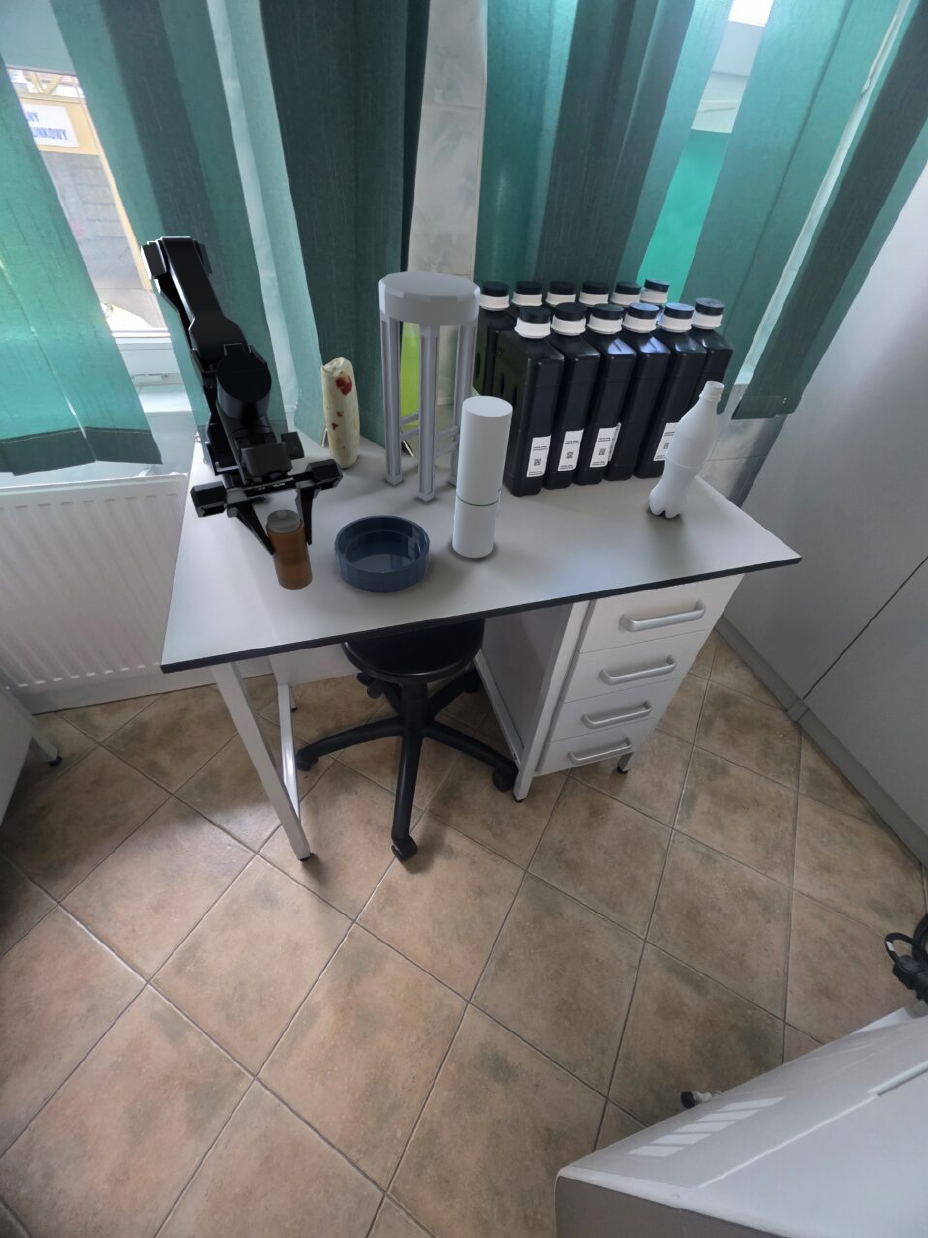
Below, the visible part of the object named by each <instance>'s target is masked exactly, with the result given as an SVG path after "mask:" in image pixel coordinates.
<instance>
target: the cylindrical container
mask: <svg viewBox="0 0 928 1238" xmlns="http://www.w3.org/2000/svg"><path fill="white" fill-rule="evenodd" d="M512 416H513V406H512V404H511V403H510V402H508V401H506V400H504V399H502V398H499V397H495V396H489V395H479V396H478V395H476V396H472V397H471V398H468V399H466V400H465V401H464V402H463V406H462V420H461V433H460V447H459V460H458V474H457V486H456V487H455V488H456V489H455V503H454V519H453V530H452V531H453V532H452V548H453V550H454V551H455V552H456V553H457V554H459V555H461V556H463V557H465V558H470V559H479V558H484V557H486V556H488V555H490V554H491V553H492V551H493V548H494V541H495V534H496V527H497V520H498V513H499V507H500V499H501V491H502V486H503V485H502V484H503V479H504V471H505V464H506V457H507V449H508V443H509V437H510V429H511V422H512Z"/></svg>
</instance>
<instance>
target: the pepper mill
mask: <svg viewBox="0 0 928 1238" xmlns="http://www.w3.org/2000/svg"><path fill="white" fill-rule="evenodd" d="M264 528H265V529H264V530H265V533H266V535H267V537H268V539H269V541H270V543H271V546H272V549H273V552H274V555H272V557H271V558H272V561H273V566H274V570H275V574H276V577H277V582H278V584H279V586H280V587H282V588H283V589H285V590H289V591H299V590H302V589H305V588H307V587H308V586H309V585H311V583H312V582H313V580H314V575H313V569H312V563H311V558H310V551H309V547H308V546H309V545H308V543H307V540H306V535H305V529H304V523H303V521H302V519H301V518H300V517H299V514H298V512H296V511H295V510H292V509H286V508H285V509H278V510H275V511H272V512H270V513H269V514H268V515H267V517H266V522H265V524H264Z"/></svg>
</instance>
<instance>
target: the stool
mask: <svg viewBox="0 0 928 1238" xmlns="http://www.w3.org/2000/svg"><path fill="white" fill-rule="evenodd" d="M480 301H481V288H480V286H479V285H478V284H476V283H475V282H473V281H472V280H471V279H468V278H465V277H461V276H458V275H454V274H450V273H442V272H435V271H434V272H433V271H413V270H412V271H411V270H410V271H409V270H408V271H407V270H406V271H400V272H393V273H388V274H387V275H385V276H384V277H382V278H381V279H380V280H379V281H378V304H379V306H378V307H379V329H380V331H379V332H380V353H381V354H380V356H381V381H382V383H381V384H382V404H383V408H382V409H383V428H384V429H383V431H384V454H385V455H384V456H385V457H384V459H385V481H386V482H388V483H389V484H391V485H394V486H395V485H397V484H400V483H402V482H403V469H402V468H403V463H402V461H403V459H402V457H403V456H402V451H403V450H402V442H404V441H406V440H410V439H412V438H413V437H417V436H418V437H417V439H418V440H417V497H418V498H419V499H421V500H423V501H424V502H428V501H430V500H432V499H435V482H436V481H435V478H436V459H438V458H440V457H442V456H444V455H446V454H449V453H450V460H449V477H448V479H449V480H448V481H449V482H448V483H449V484H451V485H453V486H455V487H457V474H458V460H459V447H460V433H461V420H462V406H463V402H464V401H465V400H466V399H468V398H471V397H473V396H472V395H473V387H474V386H473V385H474V373H475V361H476V360H475V359H476V350H477V338H478V337H477V336H478V324H479V314H480V313H479V312H480ZM400 322H402V323H406V324H407V323H408V324H416V325H419V327H418V340H419V341H418V410H417V411H414V412H412V413H409V414H407V415H404V416H402V395H401V394H402V393H401V391H402V390H401V387H402V386H401V328H400V327H401V325H400ZM442 326H443V327H445V326H446V327H447V326H457V342H456V344H457V345H456V360H455V376H454V378H455V379H454V394H453V412H452V426H450V427H448V428H445V429H443V430H441V431H438V432H437V424H438V423H437V422H438V421H437V420H438V394H439V393H438V392H439V367H440V339H441V338H440V337H441V327H442ZM416 421H418V426H415V427H413V428H411V429H408V430H405V431H402V427H404V426H406V425H408V424H411V423H414V422H416ZM450 437H451V442H448V443H446V444H444V445H441V446H439V447H437V443H439V442H442V441H443V440H446V439H448V438H450Z"/></svg>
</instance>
